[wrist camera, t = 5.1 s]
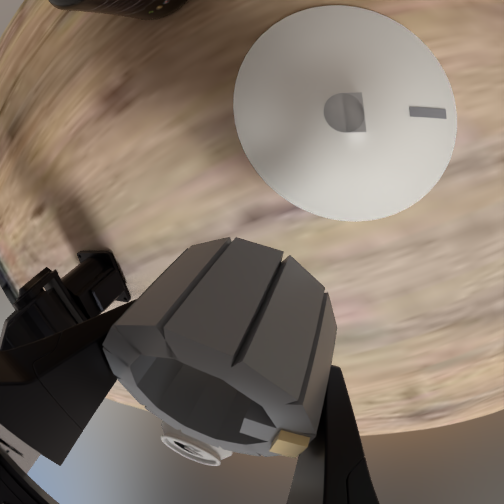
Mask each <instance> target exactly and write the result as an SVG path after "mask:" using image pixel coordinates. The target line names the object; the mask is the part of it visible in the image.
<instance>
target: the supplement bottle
mask: <svg viewBox="0 0 504 504" xmlns="http://www.w3.org/2000/svg"><path fill="white" fill-rule="evenodd" d="M186 1H187V0H49V2H50V3H51V4H52V5H53V6H54V7H56V8H58V9H61V10H69V11H84V12H95V13H104V14H112V15H119V16H125V17H131V18H137V19H144V20H152V19H158V18H161V17H164V16H166V15H168V14H170V13H172V12H174V11H175V10H177V9H178V8H180V7H181V6H182V5H183V4H184V3H185V2H186Z"/></svg>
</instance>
